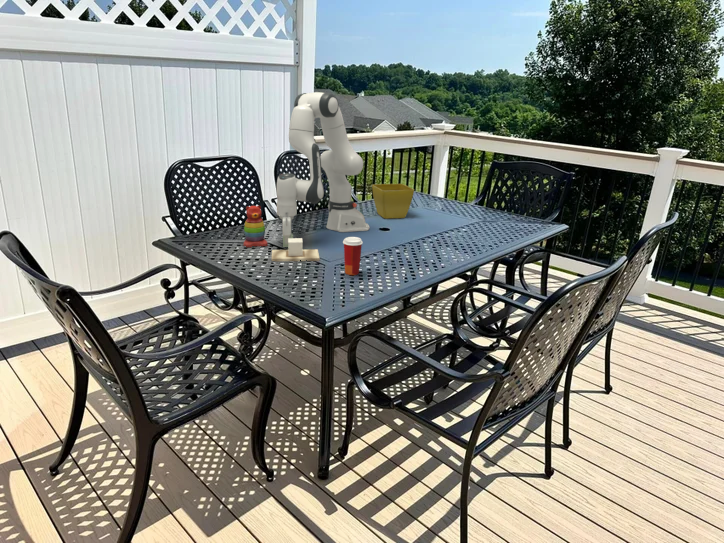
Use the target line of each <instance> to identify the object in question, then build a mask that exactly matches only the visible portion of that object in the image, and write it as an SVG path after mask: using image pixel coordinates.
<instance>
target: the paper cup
mask: <svg viewBox="0 0 724 543" xmlns="http://www.w3.org/2000/svg"><path fill="white" fill-rule="evenodd" d="M342 243H343V253H344V254H343V255H344V256H343V257H344V261H343V262H344V273H345V275H348V276H357V275H358V274H360V267H361V266H360V265H361V258H362V257H361V256H362V247H363V243H364V242H363V240H362V238H360V237H357V236H348V237H347V236H346V237H345V238H344V239H343V241H342Z"/></svg>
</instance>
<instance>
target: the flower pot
mask: <svg viewBox="0 0 724 543" xmlns="http://www.w3.org/2000/svg"><path fill="white" fill-rule="evenodd" d="M371 188H372V196H373V202H374V206H375V209H376V212H377V215H379V216H380V217H382V218H383V219H384V220H385V219H405V218H406V216H407V215H408V212H409V210H410V206H411V204H412V201H413V197H414V192H415V189H414V188H413V187H410V186H408V185H406V184H404V183H385V184H383V183H379V184H377V183H375V184H372V185H371Z"/></svg>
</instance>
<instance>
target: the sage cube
mask: <svg viewBox="0 0 724 543" xmlns="http://www.w3.org/2000/svg"><path fill="white" fill-rule="evenodd" d="M289 238H294V233H292V232H291V236H289ZM283 247H288V244H285V237H284V236H283V235H282V248H283Z"/></svg>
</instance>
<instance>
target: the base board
mask: <svg viewBox="0 0 724 543" xmlns="http://www.w3.org/2000/svg"><path fill="white" fill-rule="evenodd" d="M319 254H320V253H319V249H318V248H317V249H316V248H315V249H312V248H311V249H303V256H288V249H272V250H271V262H272V261H275V262H320V255H319ZM300 260H301V261H300ZM306 260H307V261H306Z"/></svg>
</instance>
